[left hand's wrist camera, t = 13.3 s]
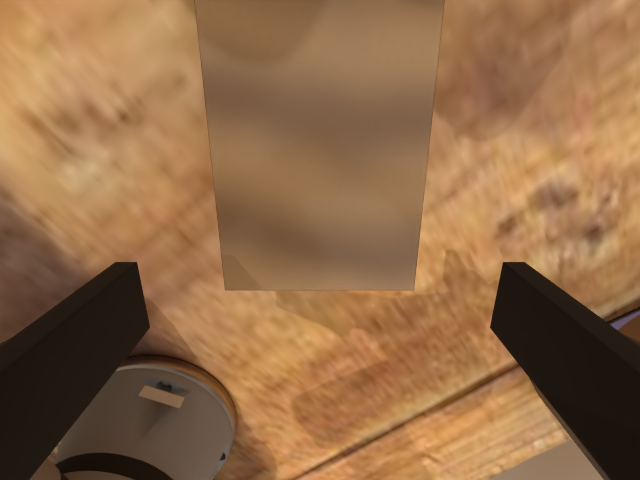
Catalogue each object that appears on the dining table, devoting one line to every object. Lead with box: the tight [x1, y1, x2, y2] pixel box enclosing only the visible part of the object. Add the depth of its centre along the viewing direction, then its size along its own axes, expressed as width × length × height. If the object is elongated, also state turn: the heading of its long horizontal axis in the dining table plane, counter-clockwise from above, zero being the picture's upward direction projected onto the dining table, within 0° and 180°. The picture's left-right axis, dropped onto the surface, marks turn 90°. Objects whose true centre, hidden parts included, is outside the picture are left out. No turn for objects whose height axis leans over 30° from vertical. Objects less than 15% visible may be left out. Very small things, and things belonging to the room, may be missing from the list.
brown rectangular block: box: [194, 0, 445, 290], centre depth 21 cm, size 19×11×10 cm, turn 0°
